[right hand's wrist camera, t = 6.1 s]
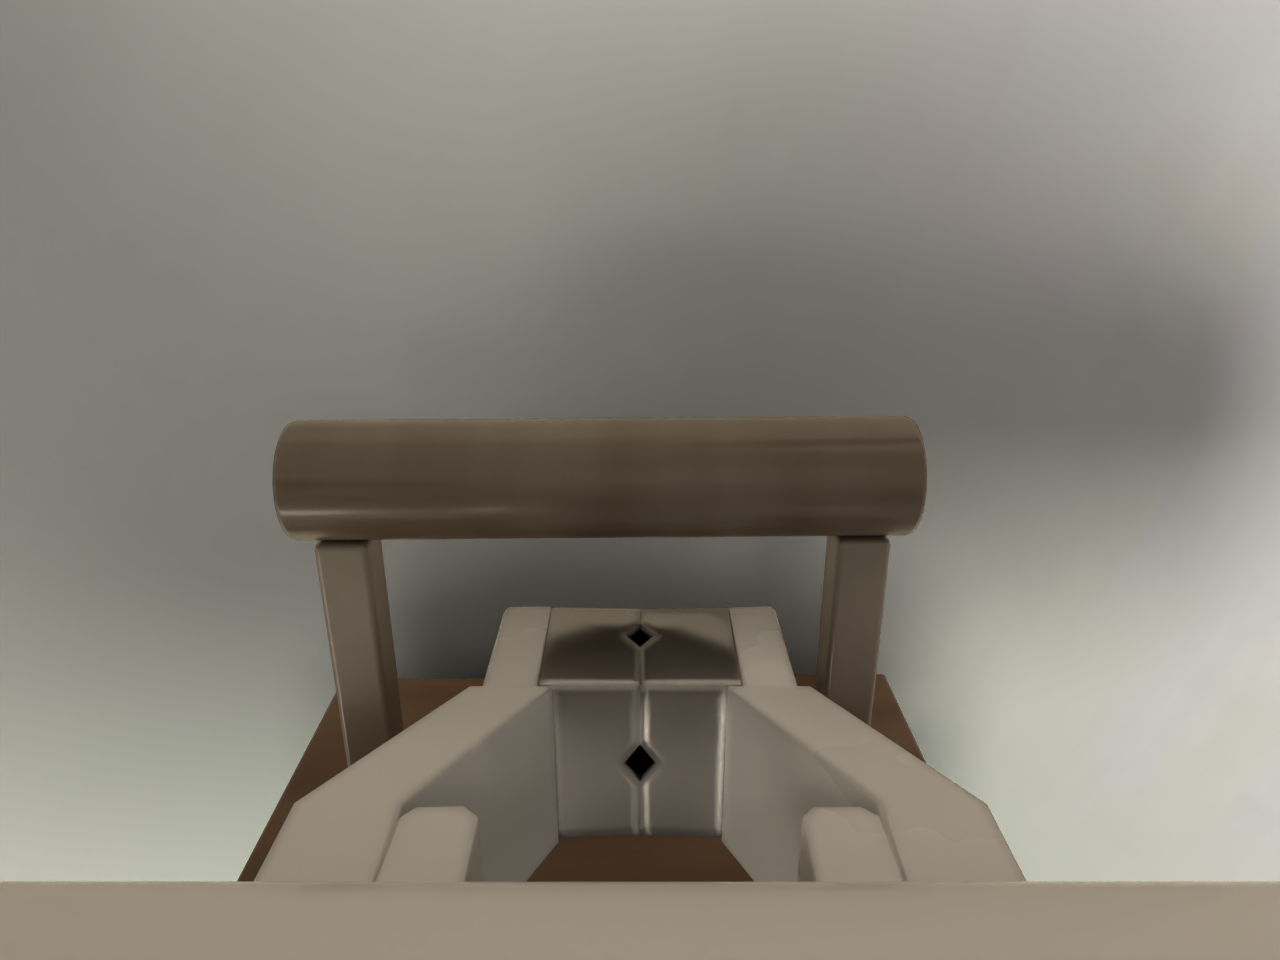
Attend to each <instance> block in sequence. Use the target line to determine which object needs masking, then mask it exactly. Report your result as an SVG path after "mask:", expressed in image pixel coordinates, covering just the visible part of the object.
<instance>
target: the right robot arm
mask: <svg viewBox="0 0 1280 960" xmlns="http://www.w3.org/2000/svg"><path fill="white" fill-rule="evenodd" d="M629 835H648V836H685V837H722V842H723V843H724V845H725V846H726V847H727V848H728V850H729V851H730V852H731V853H732V855H733V856H734V857H735V858H736V859H737V861H738V862H739V863H740V864H741V866H742V867H743V868H744V869H745V871H746V872H747V873H748V874H749V875H750V877H751V878H752V879H753V880H754V882H526V881H527V880H528V879H529V877H530V876H531V875H532V874H533V873H534V871H535V870H536V869H537V868H538V866H539V865H540V864H541V863H542V861H543V860H544V859H545V858H546V857H547V855H548V854H549V853H550V852H551V850H552V849H553V848H554V847H555V846H556V844H557V843H558V837H594V836H629ZM0 960H1280V882H1027V881H1026V879H1025V877H1024V875H1023V874H1022V872H1021V870H1020V868H1019V866H1018V864H1017V862H1016V860H1015V858H1014V856H1013V854H1012V852H1011V850H1010V848H1009V846H1008V844H1007V843H1006V841H1005V839H1004V837H1003V835H1002V833H1001V831H1000V829H999V827H998V825H997V823H996V821H995V819H994V817H993V815H992V814H991V812H990V810H989V808H988V806H987V804H985V803H984V802H982V801H981V800H980V799H978V798H977V797H975V796H974V795H972V794H971V793H969V792H968V791H966V790H965V789H963V788H962V787H960V786H959V785H957V784H956V783H954V782H953V781H951V780H950V779H948V778H947V777H945V776H944V775H942V774H941V773H939V772H938V771H936V770H935V769H933V768H932V767H930V766H929V765H927V764H926V763H924V762H923V761H921V760H920V759H918V758H917V757H915V756H914V755H912V754H911V753H909V752H908V751H906V750H905V749H903V748H902V747H900V746H899V745H897V744H896V743H894V742H893V741H891V740H890V739H888V738H887V737H885V736H884V735H882V734H881V733H879V732H878V731H876V730H875V729H873V728H872V727H870V726H869V725H867V724H866V723H864V722H863V721H861V720H860V719H858V718H857V717H855V716H854V715H852V714H851V713H849V712H848V711H846V710H845V709H843V708H842V707H840V706H839V705H837V704H836V703H834V702H833V701H831V700H830V699H828V698H827V697H825V696H824V695H822V694H821V693H819V692H818V691H816V690H815V689H813V688H812V687H810V686H797V683H796V680H795V676H794V673H793V670H792V666H791V663H790V659H789V656H788V652H787V649H786V646H785V642H784V639H783V635H782V632H781V628H780V625H779V622H778V618H777V615H776V611H775V609H774V608H772V607H771V606H760V607H738V608H728V607H715V608H673V609H623V608H569V607H554V608H553V609H552V608H551V607H550V606H540V607H509V608H507V609H506V610H505V611H504V614H503V617H502V621H501V624H500V628H499V631H498V635H497V638H496V642H495V645H494V648H493V652H492V655H491V659H490V662H489V666H488V669H487V673H486V676H485V680H484V683H483V686H470V687H468V688H467V689H465V690H464V691H462V692H461V693H459V694H458V695H456V696H455V697H453V698H452V699H450V700H449V701H447V702H446V703H444V704H443V705H441V706H440V707H438V708H437V709H435V710H434V711H432V712H431V713H429V714H428V715H426V716H425V717H423V718H422V719H420V720H419V721H417V722H416V723H414V724H413V725H411V726H410V727H408V728H407V729H405V730H404V731H402V732H401V733H399V734H398V735H396V736H395V737H393V738H392V739H390V740H389V741H387V742H385V743H384V744H382V745H381V746H379V747H378V748H376V749H375V750H373V751H372V752H370V753H369V754H367V755H366V756H364V757H363V758H361V759H360V760H358V761H357V762H355V763H354V764H352V765H351V766H349V767H348V768H346V769H345V770H343V771H342V772H340V773H339V774H337V775H336V776H334V777H333V778H331V779H330V780H328V781H327V782H325V783H324V784H322V785H321V786H319V787H318V788H316V789H315V790H313V791H312V792H310V793H309V794H307V795H306V796H304V797H303V798H301V799H300V800H298V801H297V802H295V803H294V805H293V807H292V809H291V811H290V813H289V814H288V816H287V818H286V820H285V822H284V824H283V826H282V828H281V830H280V832H279V834H278V835H277V837H276V839H275V841H274V843H273V845H272V847H271V849H270V851H269V853H268V855H267V856H266V858H265V860H264V862H263V864H262V866H261V868H260V870H259V872H258V874H257V876H256V878H255V879H254V881H253V882H0Z"/></svg>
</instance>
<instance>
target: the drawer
mask: <svg viewBox="0 0 1280 960" xmlns="http://www.w3.org/2000/svg"><path fill="white" fill-rule="evenodd" d="M926 490H927V464H926V455H925V449H924V444H923V440H922V436H921V433H920V431H919V428H918V426H917V425H916V423H915V422H914V421H913V420H912V419H910V418H908V417H905V416H877V417H726V418H576V419H425V420H297V421H294V422H292V423H290V424H288V425H287V426H286V427H285V428H284V430H283V431H282V433H281V435H280V438H279V440H278V443H277V447H276V451H275V456H274V463H273V495H274V503H275V508H276V512H277V516H278V519H279V522H280V524H281V526H282V528H283V530H284V531H285V533H286V534H287V535H288V536H290V537H291V538H294V539H296V540H320V541H319V542H318V543H317V545H316V547H315V554H316V560H317V567H318V573H319V580H320V586H321V593H322V600H323V606H324V613H325V619H326V626H327V632H328V639H329V646H330V652H331V659H332V665H333V672H334V678H335V685H336V694H335V696H334V697H333V699H332V701H331V703H330V705H329V707H328V709H327V711H326V713H325V715H324V717H323V718H322V720H321V722H320V724H319V726H318V728H317V730H316V732H315V734H314V736H313V737H312V739H311V741H310V743H309V745H308V747H307V749H306V751H305V753H304V755H303V757H302V758H301V760H300V762H299V764H298V766H297V768H296V770H295V772H294V774H293V776H292V778H291V779H290V781H289V783H288V785H287V787H286V789H285V791H284V793H283V795H282V797H281V799H280V800H279V802H278V804H277V806H276V808H275V810H274V812H273V814H272V816H271V818H270V820H269V821H268V823H267V825H266V827H265V829H264V831H263V833H262V835H261V837H260V839H259V841H258V842H257V844H256V846H255V848H254V850H253V852H252V854H251V856H250V858H249V860H248V862H247V863H246V865H245V867H244V869H243V871H242V873H241V875H240V877H239V879H238V881H237V882H253V881H254V879H255V878H256V876H257V874H258V872H259V870H260V868H261V866H262V864H263V862H264V860H265V858H266V856H267V855H268V853H269V851H270V849H271V847H272V845H273V843H274V841H275V839H276V837H277V835H278V834H279V832H280V830H281V828H282V826H283V824H284V822H285V820H286V818H287V816H288V814H289V813H290V811H291V809H292V807H293V805H294V803H295V802H297V801H298V800H300V799H301V798H303V797H304V796H306V795H307V794H309V793H310V792H312V791H313V790H315V789H316V788H318V787H319V786H321V785H322V784H324V783H325V782H327V781H328V780H330V779H331V778H333V777H334V776H336V775H337V774H339V773H340V772H342V771H343V770H345V769H346V768H348V767H349V766H351V765H352V764H354V763H355V762H357V761H358V760H360V759H361V758H363V757H364V756H366V755H367V754H369V753H370V752H372V751H373V750H375V749H376V748H378V747H379V746H381V745H382V744H384V743H385V742H387V741H389V740H390V739H392V738H393V737H395V736H396V735H398V734H399V733H401V732H402V731H404V730H405V729H407V728H408V727H410V726H411V725H413V724H414V723H416V722H417V721H419V720H420V719H422V718H423V717H425V716H426V715H428V714H429V713H431V712H432V711H434V710H435V709H437V708H438V707H440V706H441V705H443V704H444V703H446V702H447V701H449V700H450V699H452V698H453V697H455V696H456V695H458V694H459V693H461V692H462V691H464V690H465V689H467V688H468V687H470V686H483V683H484V680H485V678H467V679H398V678H397V670H396V661H395V653H394V645H393V637H392V628H391V620H390V612H389V604H388V595H387V587H386V579H385V571H384V563H383V554H382V546H381V540H396V539H520V538H644V537H768V536H827V548H826V560H825V572H824V585H823V597H822V609H821V621H820V633H819V646H818V658H817V670H816V675H794V676H795V680H796V683H797V686H810V687H812V688H813V689H815V690H816V691H818V692H819V693H821V694H822V695H824V696H825V697H827V698H828V699H830V700H831V701H833V702H834V703H836V704H837V705H839V706H840V707H842V708H843V709H845V710H846V711H848V712H849V713H851V714H852V715H854V716H855V717H857V718H858V719H860V720H861V721H863V722H864V723H866V724H867V725H869V726H870V727H872V728H873V729H875V730H876V731H878V732H879V733H881V734H882V735H884V736H885V737H887V738H888V739H890V740H891V741H893V742H894V743H896V744H897V745H899V746H900V747H902V748H903V749H905V750H906V751H908V752H909V753H911V754H912V755H914V756H915V757H917V758H918V759H920V760H921V761H923V762H924V763H926V762H925V760H924V758H923V756H922V754H921V752H920V749H919V747H918V745H917V743H916V741H915V739H914V737H913V735H912V733H911V730H910V728H909V726H908V724H907V722H906V720H905V718H904V716H903V714H902V711H901V709H900V707H899V705H898V703H897V701H896V699H895V697H894V695H893V692H892V690H891V688H890V686H889V684H888V682H887V680H886V678H885V676H884V675H882V674H879V675H876V670H877V661H878V652H879V643H880V634H881V625H882V616H883V607H884V598H885V589H886V579H887V570H888V561H889V552H890V542H889V540H888V538H887V537H886V536H892V535H908V534H910V533H912V532H914V531H915V529H916V528H917V527H918V524H919V522H920V520H921V517H922V513H923V509H924V505H925V499H926ZM526 882H754V880H753V879H752V878H751V877H750V875H749V874H748V873H747V872H746V871H745V869H744V868H743V867H742V866H741V864H740V863H739V862H738V861H737V859H736V858H735V857H734V856H733V855H732V853H731V852H730V851H729V850H728V848H727V847H726V846H725V845H724V843H723V842H722V837H685V836H648V835H629V836H594V837H558V843H557V844H556V846H555V847H554V848H553V849H552V850H551V852H550V853H549V854H548V855H547V857H546V858H545V859H544V860H543V861H542V863H541V864H540V865H539V866H538V868H537V869H536V870H535V871H534V873H533V874H532V875H531V876H530V877H529V879H528V880H527V881H526Z"/></svg>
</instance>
